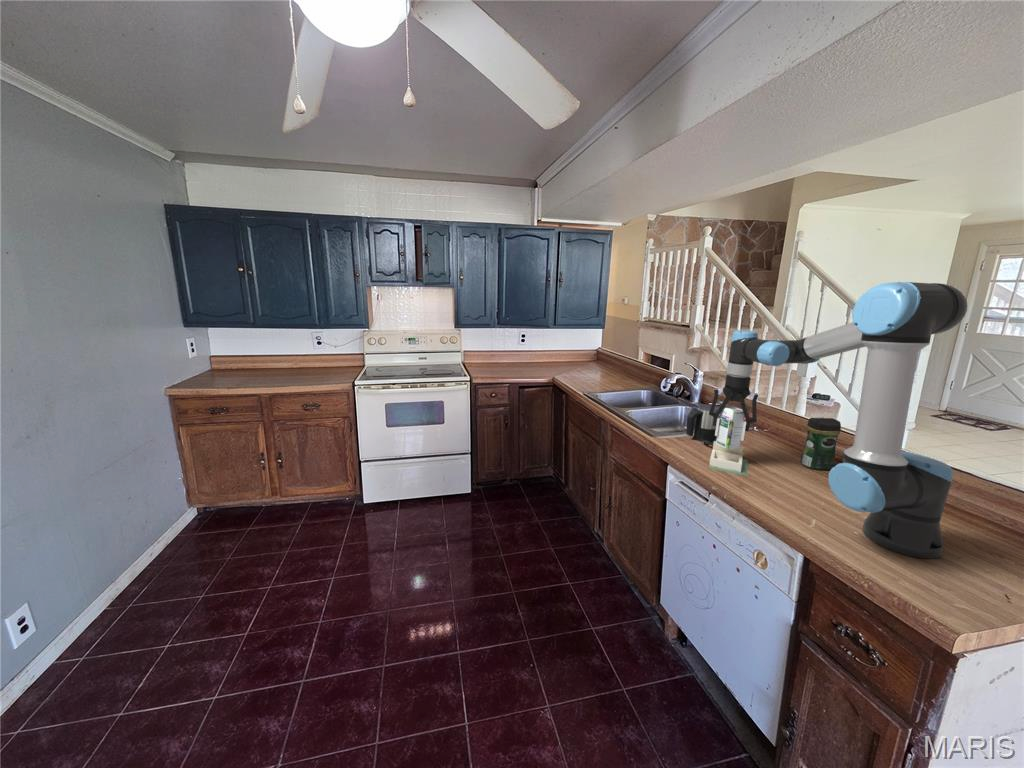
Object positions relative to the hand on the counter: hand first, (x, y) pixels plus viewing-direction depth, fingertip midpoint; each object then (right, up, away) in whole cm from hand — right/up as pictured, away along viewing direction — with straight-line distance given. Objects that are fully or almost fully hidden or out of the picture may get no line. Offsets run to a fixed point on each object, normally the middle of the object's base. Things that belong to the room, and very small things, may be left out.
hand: (729, 436), depth 148 cm
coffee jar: (+34, -12, +4) cm, 36 cm away
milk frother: (+4, -6, +25) cm, 26 cm away
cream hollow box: (0, -10, +2) cm, 10 cm away
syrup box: (0, -4, +1) cm, 4 cm away
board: (+1, -11, +3) cm, 11 cm away
